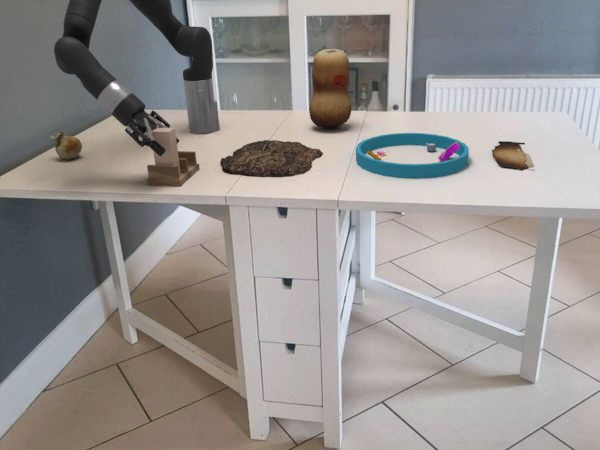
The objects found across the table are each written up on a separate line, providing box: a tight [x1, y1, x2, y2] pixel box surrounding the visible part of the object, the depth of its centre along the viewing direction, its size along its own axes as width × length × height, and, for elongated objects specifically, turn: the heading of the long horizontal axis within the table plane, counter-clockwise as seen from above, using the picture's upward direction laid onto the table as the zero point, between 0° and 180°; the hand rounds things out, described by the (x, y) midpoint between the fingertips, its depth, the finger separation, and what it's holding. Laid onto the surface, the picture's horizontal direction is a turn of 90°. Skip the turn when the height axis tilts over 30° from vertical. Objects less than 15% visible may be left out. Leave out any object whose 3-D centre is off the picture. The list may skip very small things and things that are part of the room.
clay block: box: [152, 127, 181, 174], centre depth 150 cm, size 4×5×12 cm
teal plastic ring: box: [355, 132, 470, 179], centre depth 160 cm, size 30×30×6 cm
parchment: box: [491, 140, 535, 171], centre depth 161 cm, size 25×10×1 cm, turn 167°
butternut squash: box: [308, 48, 352, 130], centre depth 190 cm, size 14×13×25 cm
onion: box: [50, 131, 83, 161], centre depth 173 cm, size 8×8×8 cm
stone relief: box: [219, 139, 324, 178], centre depth 166 cm, size 26×4×30 cm
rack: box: [146, 150, 200, 187], centre depth 155 cm, size 14×9×5 cm, turn 168°
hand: (170, 148), depth 150 cm, fingers open, 8 cm apart
